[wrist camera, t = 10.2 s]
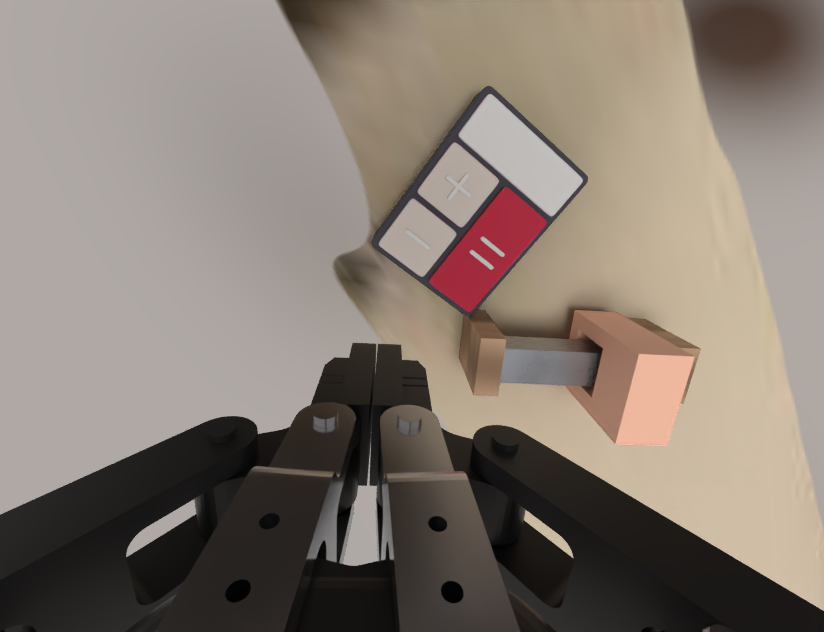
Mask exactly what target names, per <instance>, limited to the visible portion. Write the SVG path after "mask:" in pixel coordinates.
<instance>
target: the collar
mask: <svg viewBox="0 0 824 632" xmlns="http://www.w3.org/2000/svg"><path fill="white" fill-rule="evenodd" d="M569 339H577V340H593V341H594V342H595V343H597V344H598V345H599V346H601V347H602V348H603V351H602V356H601V360H600V364H599V369H598V373H597V377H596V381H595V386H571V385H565V386H566V388H567V389H568V390H569V391H570V392H571V393H572V395H573V396H574V397H575V398H576V399H577V400H578V402H579V403H580V404H581V405H582V406H583V407H584V408H585V410H586V411H587V412H588V413H589V414H590V415H591V417H592V418H593V419H594V420H595V421H596V422H597V424H598V425H599V426H600V427H601V428H602V429H603V431H604V432H605V433H606V434H607V435H608V436H609V438H610V439H611V440H612V441H613V442H614V443H615V444H623V445H655V446H667V445H668V442H669V438H670V435H671V432H672V429H673V426H674V422H675V419H676V416H677V413H678V410H679V406H680V403H681V400H682V397H683V393H684V390H685V387H686V384H687V381H688V377H689V374H690V371H691V368H692V364H693V361H694V358H695V356H693V355H691V354H689V353H688V352H686V351H684V350H682V349H681V348H679V347H677V346H675V345H674V344H672V343H670V342H668V341H667V340H665V339H663V338H661V337H660V336H658V335H656V334H654V333H653V332H651V331H649V330H647V329H645V328H644V327H642V326H640V325H638V324H637V323H635V322H633V321H631V320H630V319H628V318H626V317H624V316H623V315H621V314H619V313H617V312H603V311H585V310H575V312H574V317H573V322H572V327H571V332H570V337H569Z"/></svg>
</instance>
